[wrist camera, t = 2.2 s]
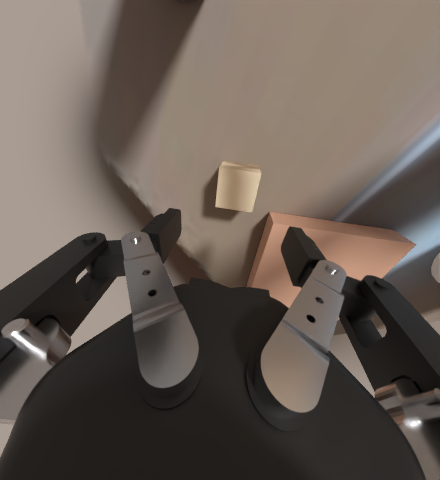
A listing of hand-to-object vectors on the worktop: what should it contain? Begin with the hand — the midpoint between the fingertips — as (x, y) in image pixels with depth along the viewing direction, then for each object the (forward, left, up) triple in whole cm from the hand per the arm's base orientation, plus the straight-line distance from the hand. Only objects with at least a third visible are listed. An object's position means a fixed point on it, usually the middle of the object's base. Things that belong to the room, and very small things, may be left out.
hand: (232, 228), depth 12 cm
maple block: (0, 0, -15) cm, 15 cm away
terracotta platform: (-16, +14, -15) cm, 26 cm away
